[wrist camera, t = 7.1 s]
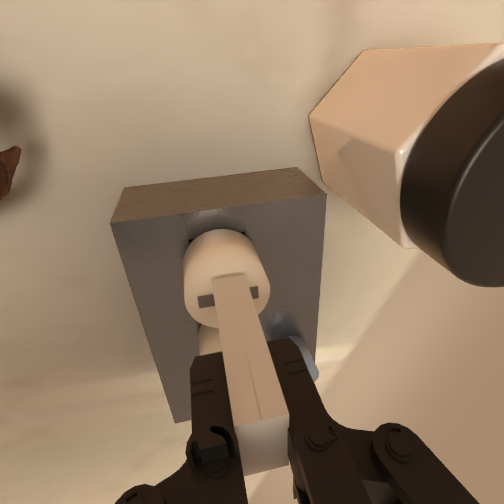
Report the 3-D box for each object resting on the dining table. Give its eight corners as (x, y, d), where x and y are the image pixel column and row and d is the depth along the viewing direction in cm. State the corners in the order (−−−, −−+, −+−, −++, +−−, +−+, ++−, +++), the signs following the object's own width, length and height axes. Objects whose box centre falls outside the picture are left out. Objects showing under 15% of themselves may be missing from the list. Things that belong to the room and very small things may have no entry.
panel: (175, 369, 28) (175, 423, 24) (124, 187, 19) (109, 222, 15) (293, 345, 30) (312, 392, 26) (296, 167, 21) (326, 194, 17)
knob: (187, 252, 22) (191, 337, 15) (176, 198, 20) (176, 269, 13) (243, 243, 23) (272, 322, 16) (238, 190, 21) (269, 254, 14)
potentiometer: (273, 362, 23) (292, 422, 19) (272, 339, 22) (292, 398, 18) (304, 356, 23) (329, 413, 19) (305, 332, 22) (333, 389, 18)
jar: (356, 213, 24) (488, 326, 14) (281, 143, 20) (388, 226, 10) (454, 114, 21) (704, 162, 11) (390, 12, 17) (681, -54, 7)
